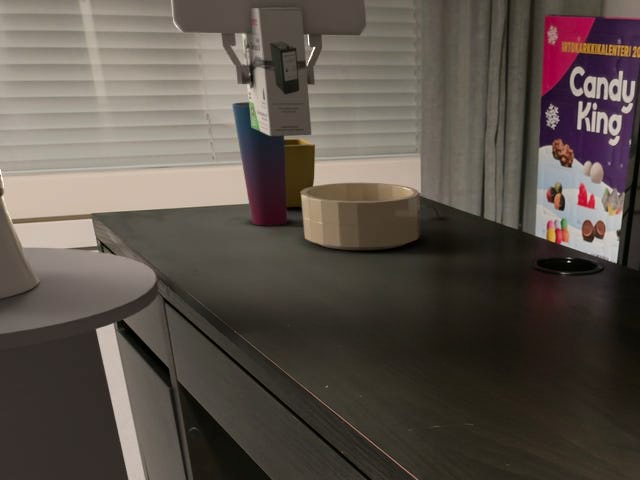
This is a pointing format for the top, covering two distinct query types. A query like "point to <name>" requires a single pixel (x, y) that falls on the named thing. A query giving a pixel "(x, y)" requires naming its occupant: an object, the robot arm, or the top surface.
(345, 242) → the bowl
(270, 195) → the cup
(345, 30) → the robot arm
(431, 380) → the top surface
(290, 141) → the flower pot
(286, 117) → the ink box
